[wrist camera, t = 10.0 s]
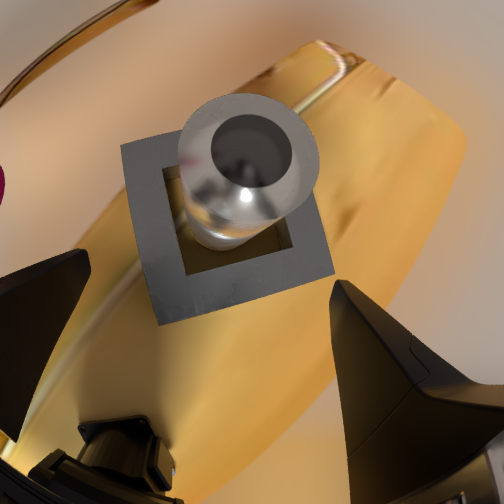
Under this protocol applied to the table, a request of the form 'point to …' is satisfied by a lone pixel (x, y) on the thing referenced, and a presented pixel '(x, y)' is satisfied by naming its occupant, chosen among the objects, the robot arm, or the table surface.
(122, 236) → the table surface
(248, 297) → the jig
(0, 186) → the pepper mill
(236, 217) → the ring
